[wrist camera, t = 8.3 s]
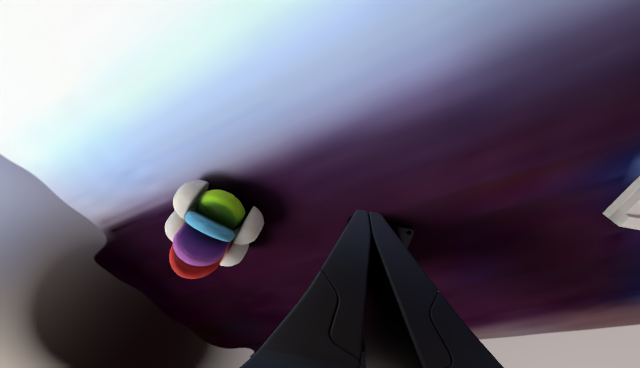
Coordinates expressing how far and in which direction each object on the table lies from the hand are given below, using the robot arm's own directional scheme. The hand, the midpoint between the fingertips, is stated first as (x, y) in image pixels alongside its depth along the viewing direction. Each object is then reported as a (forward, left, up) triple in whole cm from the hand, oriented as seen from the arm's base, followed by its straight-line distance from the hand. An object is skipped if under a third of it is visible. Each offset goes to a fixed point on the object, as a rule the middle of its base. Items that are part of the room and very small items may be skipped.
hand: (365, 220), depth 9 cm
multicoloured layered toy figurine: (-13, +13, -12) cm, 22 cm away
